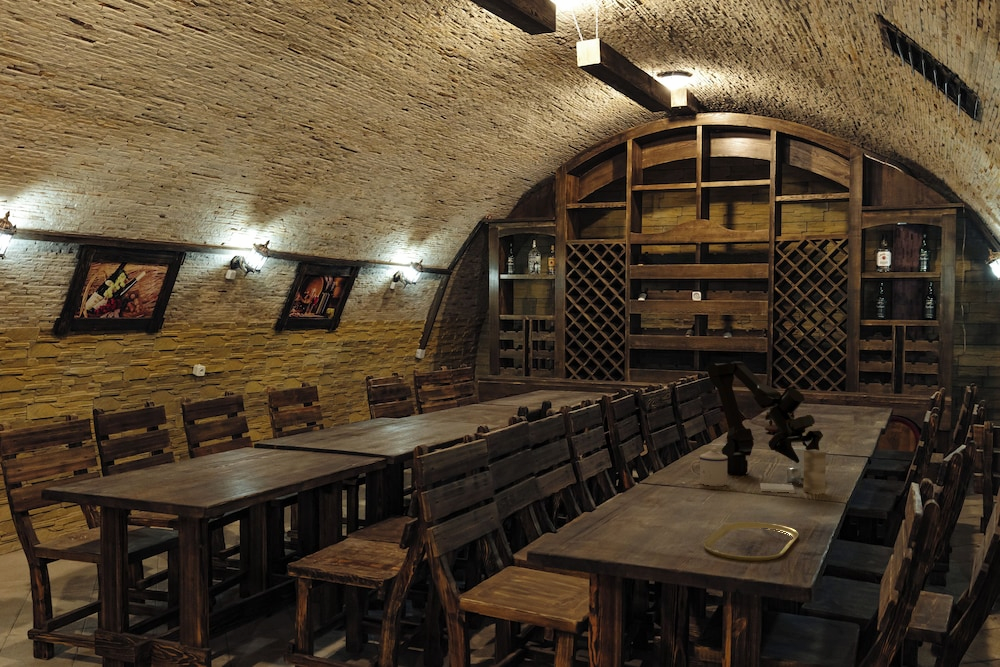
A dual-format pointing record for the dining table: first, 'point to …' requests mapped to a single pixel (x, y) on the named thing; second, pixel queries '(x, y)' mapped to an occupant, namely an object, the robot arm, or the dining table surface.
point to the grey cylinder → (793, 475)
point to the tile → (777, 487)
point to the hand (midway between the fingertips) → (809, 461)
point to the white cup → (800, 453)
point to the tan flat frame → (732, 526)
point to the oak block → (814, 471)
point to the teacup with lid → (712, 468)
